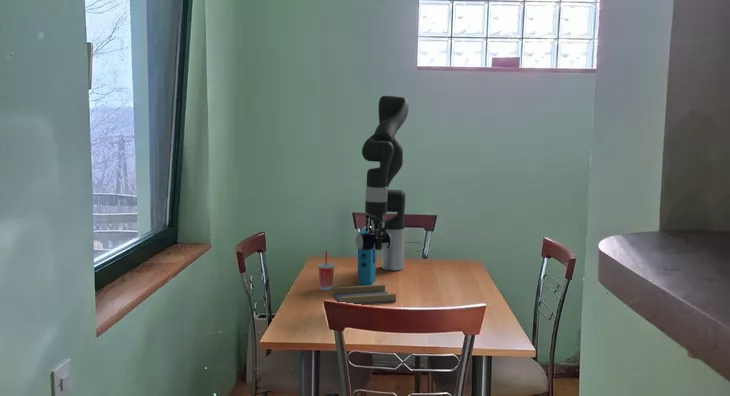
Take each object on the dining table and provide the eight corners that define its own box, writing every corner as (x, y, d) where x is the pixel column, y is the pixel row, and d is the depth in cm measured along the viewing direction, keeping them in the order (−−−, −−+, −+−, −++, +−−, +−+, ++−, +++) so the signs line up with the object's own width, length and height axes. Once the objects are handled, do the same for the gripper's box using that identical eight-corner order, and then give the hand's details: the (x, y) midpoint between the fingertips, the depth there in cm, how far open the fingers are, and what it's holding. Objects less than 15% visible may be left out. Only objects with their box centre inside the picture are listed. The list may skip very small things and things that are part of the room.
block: (370, 286, 227) (370, 233, 224) (357, 286, 228) (357, 233, 225) (376, 279, 238) (377, 228, 236) (363, 278, 239) (364, 228, 237)
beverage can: (354, 245, 211) (386, 243, 216) (359, 253, 206) (392, 251, 211) (355, 231, 209) (387, 229, 214) (361, 238, 204) (394, 236, 209)
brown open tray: (332, 294, 215) (332, 287, 215) (384, 291, 220) (384, 284, 220) (341, 305, 202) (341, 297, 202) (396, 301, 208) (396, 294, 207)
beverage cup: (327, 285, 228) (327, 248, 226) (337, 288, 223) (338, 251, 222) (314, 288, 223) (314, 250, 222) (325, 291, 219) (325, 253, 218)
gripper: (395, 202, 202) (393, 251, 205) (378, 195, 216) (376, 241, 219) (374, 203, 200) (372, 253, 203) (358, 196, 213) (357, 243, 216)
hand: (374, 247), depth 211 cm, fingers closed on beverage can, 5 cm apart
